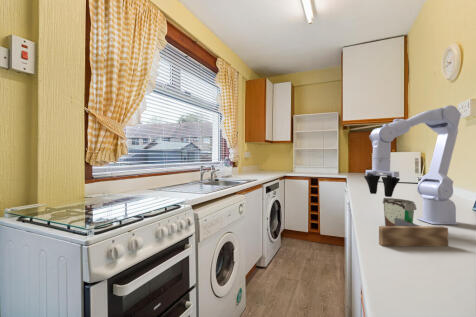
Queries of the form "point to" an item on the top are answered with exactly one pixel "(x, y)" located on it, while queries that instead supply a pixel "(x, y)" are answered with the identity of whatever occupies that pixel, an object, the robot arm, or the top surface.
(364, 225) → the top surface
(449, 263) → the top surface
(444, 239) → the shelf panel
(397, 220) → the bookend
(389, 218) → the food container
